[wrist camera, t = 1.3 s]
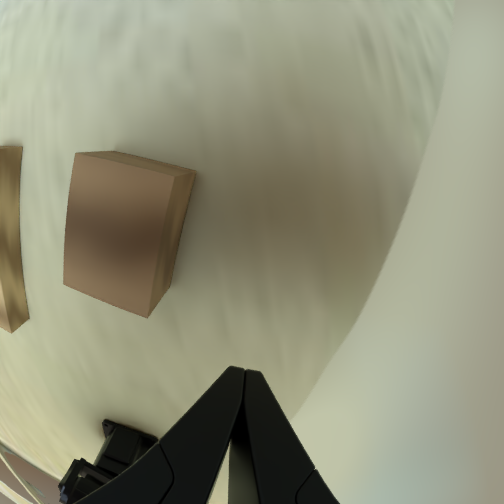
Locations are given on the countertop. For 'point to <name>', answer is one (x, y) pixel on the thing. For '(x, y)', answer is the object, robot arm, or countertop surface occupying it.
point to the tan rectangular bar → (11, 242)
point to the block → (124, 228)
